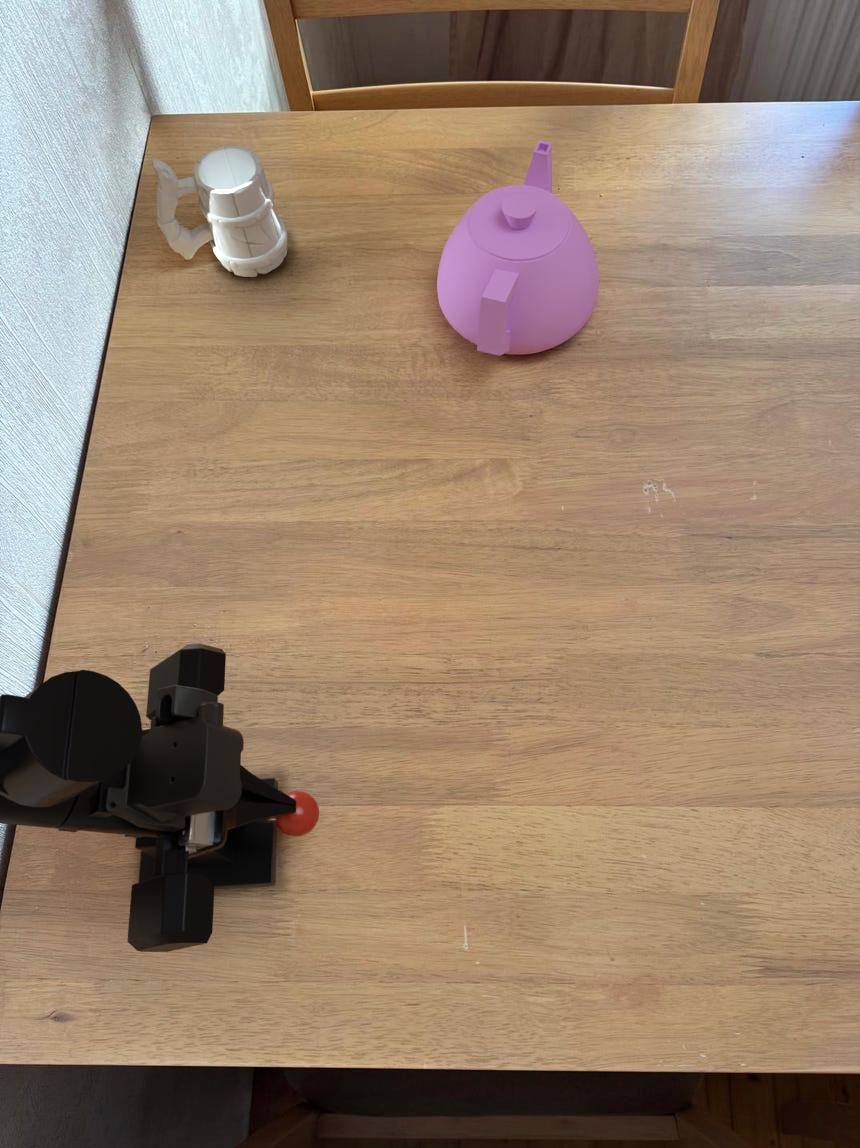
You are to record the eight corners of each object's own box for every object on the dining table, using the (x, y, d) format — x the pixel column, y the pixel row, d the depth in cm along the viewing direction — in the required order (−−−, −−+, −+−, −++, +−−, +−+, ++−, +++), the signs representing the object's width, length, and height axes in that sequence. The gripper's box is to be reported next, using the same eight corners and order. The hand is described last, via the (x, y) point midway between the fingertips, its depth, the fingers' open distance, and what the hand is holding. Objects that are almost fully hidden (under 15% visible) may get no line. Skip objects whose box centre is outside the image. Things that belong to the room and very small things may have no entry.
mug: (298, 269, 93) (271, 167, 82) (183, 296, 92) (139, 197, 81) (282, 216, 96) (254, 111, 85) (171, 242, 95) (127, 138, 84)
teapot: (571, 406, 86) (582, 314, 75) (412, 376, 87) (399, 281, 76) (615, 234, 94) (630, 129, 83) (468, 210, 96) (464, 103, 85)
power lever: (317, 796, 68) (321, 786, 65) (316, 840, 67) (321, 831, 64) (160, 797, 65) (157, 785, 62) (157, 842, 64) (154, 832, 61)
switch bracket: (278, 781, 72) (246, 746, 63) (275, 885, 69) (242, 863, 60) (151, 790, 72) (101, 756, 63) (143, 894, 69) (89, 874, 60)
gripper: (107, 929, 45) (365, 934, 55) (139, 585, 52) (361, 647, 62) (24, 952, 52) (265, 953, 62) (62, 648, 59) (272, 693, 69)
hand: (293, 807), depth 64 cm, fingers closed, pressing on switch bracket
